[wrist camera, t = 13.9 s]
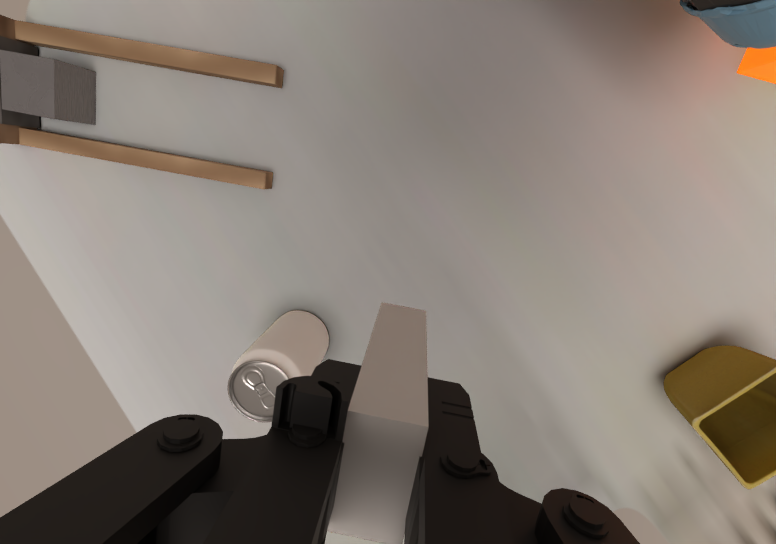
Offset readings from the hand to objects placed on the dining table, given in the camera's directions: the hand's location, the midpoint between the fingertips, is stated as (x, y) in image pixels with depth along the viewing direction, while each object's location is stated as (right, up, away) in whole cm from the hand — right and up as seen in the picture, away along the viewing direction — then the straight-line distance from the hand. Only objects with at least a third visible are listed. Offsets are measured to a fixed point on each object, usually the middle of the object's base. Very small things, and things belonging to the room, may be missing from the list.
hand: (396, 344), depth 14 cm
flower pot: (+32, -9, +30) cm, 45 cm away
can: (-10, -5, +32) cm, 34 cm away
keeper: (-32, +20, +28) cm, 47 cm away
